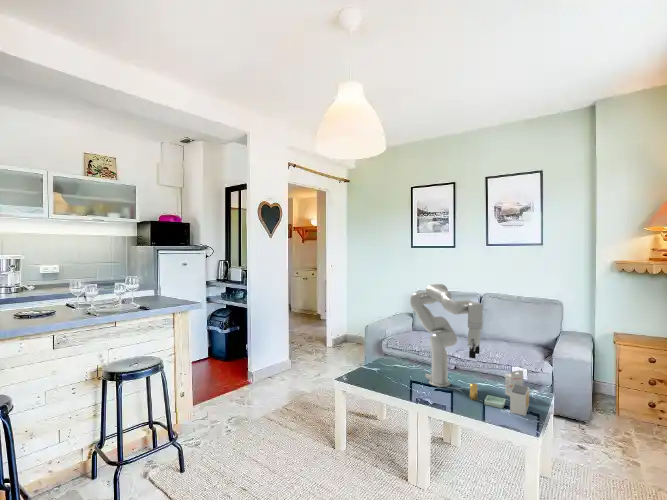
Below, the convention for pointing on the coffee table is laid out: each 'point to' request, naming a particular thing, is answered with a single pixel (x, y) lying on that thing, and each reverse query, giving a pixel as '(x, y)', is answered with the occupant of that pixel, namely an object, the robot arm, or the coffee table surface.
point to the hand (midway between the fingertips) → (474, 355)
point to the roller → (473, 391)
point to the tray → (494, 401)
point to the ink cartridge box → (513, 381)
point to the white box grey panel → (519, 399)
